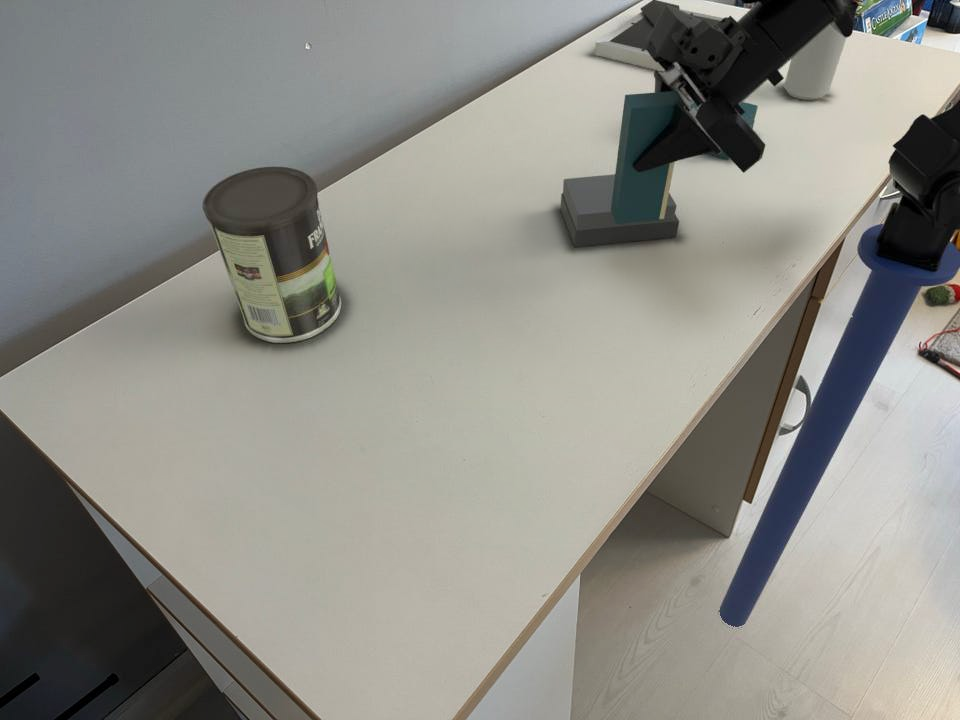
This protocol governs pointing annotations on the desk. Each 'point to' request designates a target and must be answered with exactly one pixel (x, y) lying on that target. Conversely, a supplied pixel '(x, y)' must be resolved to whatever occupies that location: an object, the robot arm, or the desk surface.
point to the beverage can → (815, 66)
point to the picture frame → (639, 36)
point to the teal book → (640, 126)
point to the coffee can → (275, 252)
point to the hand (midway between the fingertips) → (631, 161)
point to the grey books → (607, 215)
